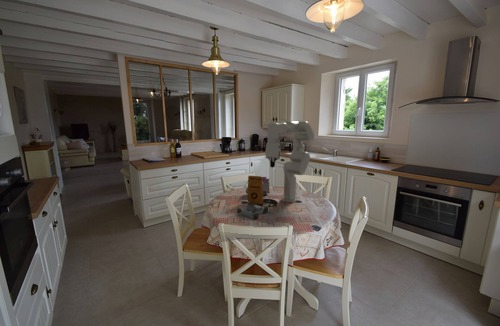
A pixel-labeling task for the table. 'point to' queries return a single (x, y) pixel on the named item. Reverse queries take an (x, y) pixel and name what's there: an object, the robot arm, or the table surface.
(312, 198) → the table surface
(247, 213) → the chassis
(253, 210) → the engine block
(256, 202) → the coffee package
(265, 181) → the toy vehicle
